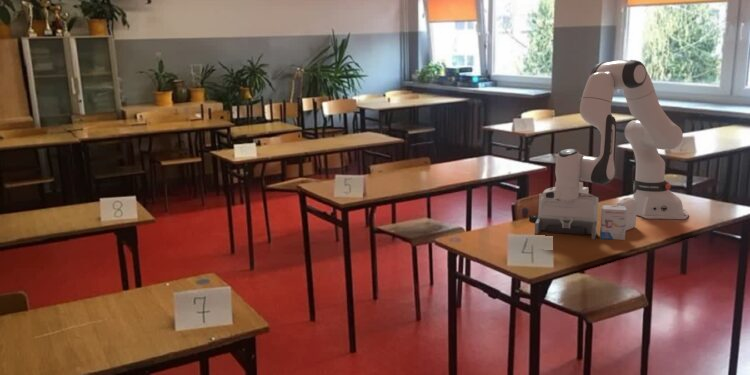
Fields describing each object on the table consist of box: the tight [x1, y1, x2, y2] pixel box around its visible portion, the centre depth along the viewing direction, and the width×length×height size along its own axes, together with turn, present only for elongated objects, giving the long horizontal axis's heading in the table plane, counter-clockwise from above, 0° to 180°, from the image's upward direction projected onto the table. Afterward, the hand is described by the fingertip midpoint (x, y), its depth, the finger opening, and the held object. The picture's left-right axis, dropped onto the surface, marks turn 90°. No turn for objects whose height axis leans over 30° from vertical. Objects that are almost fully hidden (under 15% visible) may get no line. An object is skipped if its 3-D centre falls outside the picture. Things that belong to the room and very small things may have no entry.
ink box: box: [599, 204, 627, 241], centre depth 237 cm, size 9×5×12 cm, turn 75°
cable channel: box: [534, 218, 598, 240], centre depth 244 cm, size 22×8×4 cm, turn 67°
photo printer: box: [615, 197, 637, 232], centre depth 246 cm, size 10×4×12 cm, turn 129°
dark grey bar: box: [545, 225, 587, 236], centre depth 245 cm, size 15×3×3 cm
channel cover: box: [537, 193, 599, 223], centre depth 247 cm, size 22×10×1 cm
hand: (566, 227), depth 242 cm, fingers closed
